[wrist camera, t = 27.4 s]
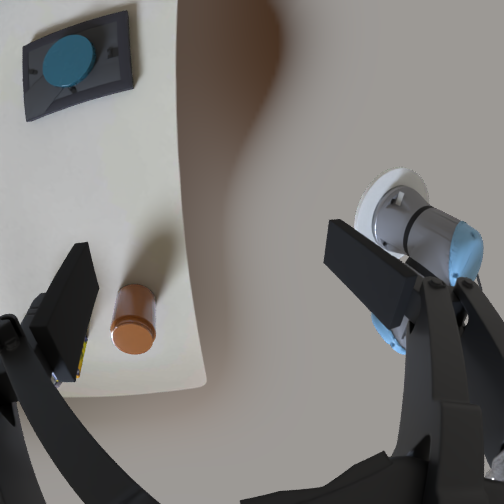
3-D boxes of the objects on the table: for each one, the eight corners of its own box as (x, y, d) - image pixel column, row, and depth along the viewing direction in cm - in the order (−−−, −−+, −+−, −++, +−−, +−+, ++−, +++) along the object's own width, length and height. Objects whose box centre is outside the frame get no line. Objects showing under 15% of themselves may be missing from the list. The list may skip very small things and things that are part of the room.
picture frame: (31, 121, 31) (133, 88, 35) (25, 121, 29) (131, 87, 33) (27, 48, 25) (128, 13, 29) (21, 46, 23) (126, 9, 27)
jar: (152, 281, 49) (151, 319, 40) (158, 315, 53) (159, 354, 44) (112, 286, 47) (103, 323, 38) (121, 319, 51) (116, 358, 42)
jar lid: (40, 84, 28) (34, 83, 26) (59, 35, 25) (55, 32, 23) (84, 91, 31) (80, 90, 29) (104, 40, 28) (102, 37, 27)
